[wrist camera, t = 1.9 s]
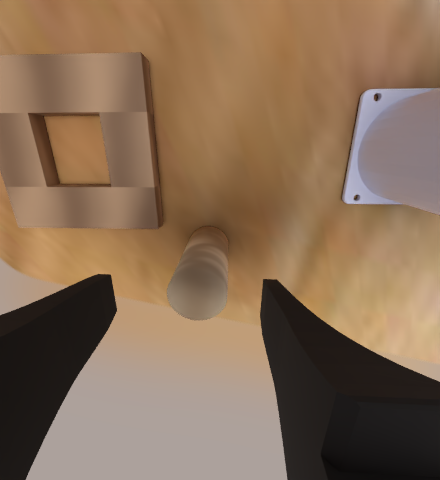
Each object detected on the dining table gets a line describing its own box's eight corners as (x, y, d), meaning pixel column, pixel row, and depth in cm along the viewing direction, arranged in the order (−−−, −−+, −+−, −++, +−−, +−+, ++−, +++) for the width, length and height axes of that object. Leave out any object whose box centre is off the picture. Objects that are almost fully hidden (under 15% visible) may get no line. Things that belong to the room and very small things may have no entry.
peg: (228, 226, 21) (227, 269, 13) (228, 263, 22) (226, 321, 15) (188, 226, 21) (164, 268, 14) (190, 262, 22) (169, 319, 15)
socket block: (148, 60, 17) (140, 52, 15) (163, 223, 21) (158, 228, 20) (-15, 63, 17) (-37, 55, 16) (32, 222, 21) (18, 227, 20)
